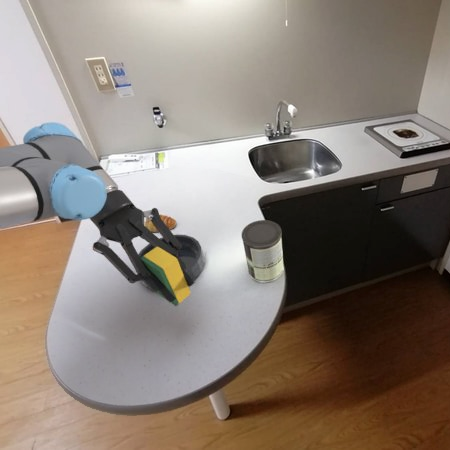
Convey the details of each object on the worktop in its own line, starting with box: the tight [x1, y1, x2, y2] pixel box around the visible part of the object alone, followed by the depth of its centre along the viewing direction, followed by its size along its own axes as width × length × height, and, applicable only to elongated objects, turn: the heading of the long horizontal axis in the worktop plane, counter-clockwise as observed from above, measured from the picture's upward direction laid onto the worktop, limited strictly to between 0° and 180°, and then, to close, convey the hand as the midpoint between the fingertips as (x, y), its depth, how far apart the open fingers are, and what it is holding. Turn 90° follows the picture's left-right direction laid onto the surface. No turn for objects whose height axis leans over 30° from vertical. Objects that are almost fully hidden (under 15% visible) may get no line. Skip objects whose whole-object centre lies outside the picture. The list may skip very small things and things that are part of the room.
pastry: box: [144, 213, 177, 233], centre depth 101 cm, size 9×7×4 cm
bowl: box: [138, 234, 205, 289], centre depth 87 cm, size 18×18×5 cm
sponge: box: [140, 246, 192, 307], centre depth 62 cm, size 4×6×11 cm, turn 56°
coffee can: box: [241, 219, 285, 284], centre depth 83 cm, size 10×10×14 cm
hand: (182, 292), depth 62 cm, fingers closed on sponge, 4 cm apart
